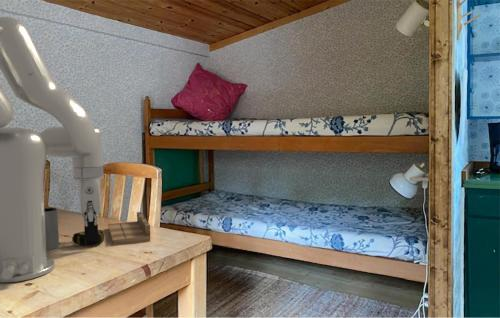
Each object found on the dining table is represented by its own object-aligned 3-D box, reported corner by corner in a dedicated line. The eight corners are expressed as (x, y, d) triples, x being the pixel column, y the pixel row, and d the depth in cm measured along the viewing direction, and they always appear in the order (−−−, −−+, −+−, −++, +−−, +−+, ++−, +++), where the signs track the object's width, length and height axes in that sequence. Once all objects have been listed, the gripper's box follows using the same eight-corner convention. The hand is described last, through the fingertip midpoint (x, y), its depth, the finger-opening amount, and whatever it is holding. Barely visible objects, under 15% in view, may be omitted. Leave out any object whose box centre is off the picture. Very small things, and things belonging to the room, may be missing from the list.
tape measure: (96, 240, 107) (95, 227, 106) (108, 244, 102) (108, 231, 102) (72, 245, 101) (71, 232, 101) (84, 250, 97) (84, 236, 97)
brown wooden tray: (150, 241, 105) (150, 225, 105) (112, 245, 101) (112, 229, 101) (141, 225, 122) (140, 211, 122) (108, 228, 118) (108, 214, 118)
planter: (40, 246, 100) (38, 208, 99) (58, 244, 102) (57, 207, 101) (39, 251, 96) (37, 212, 95) (59, 248, 98) (57, 210, 97)
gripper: (104, 176, 94) (107, 242, 95) (101, 168, 109) (104, 225, 111) (71, 178, 91) (75, 246, 92) (73, 170, 106) (76, 228, 108)
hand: (91, 235), depth 102 cm, fingers open, 9 cm apart
